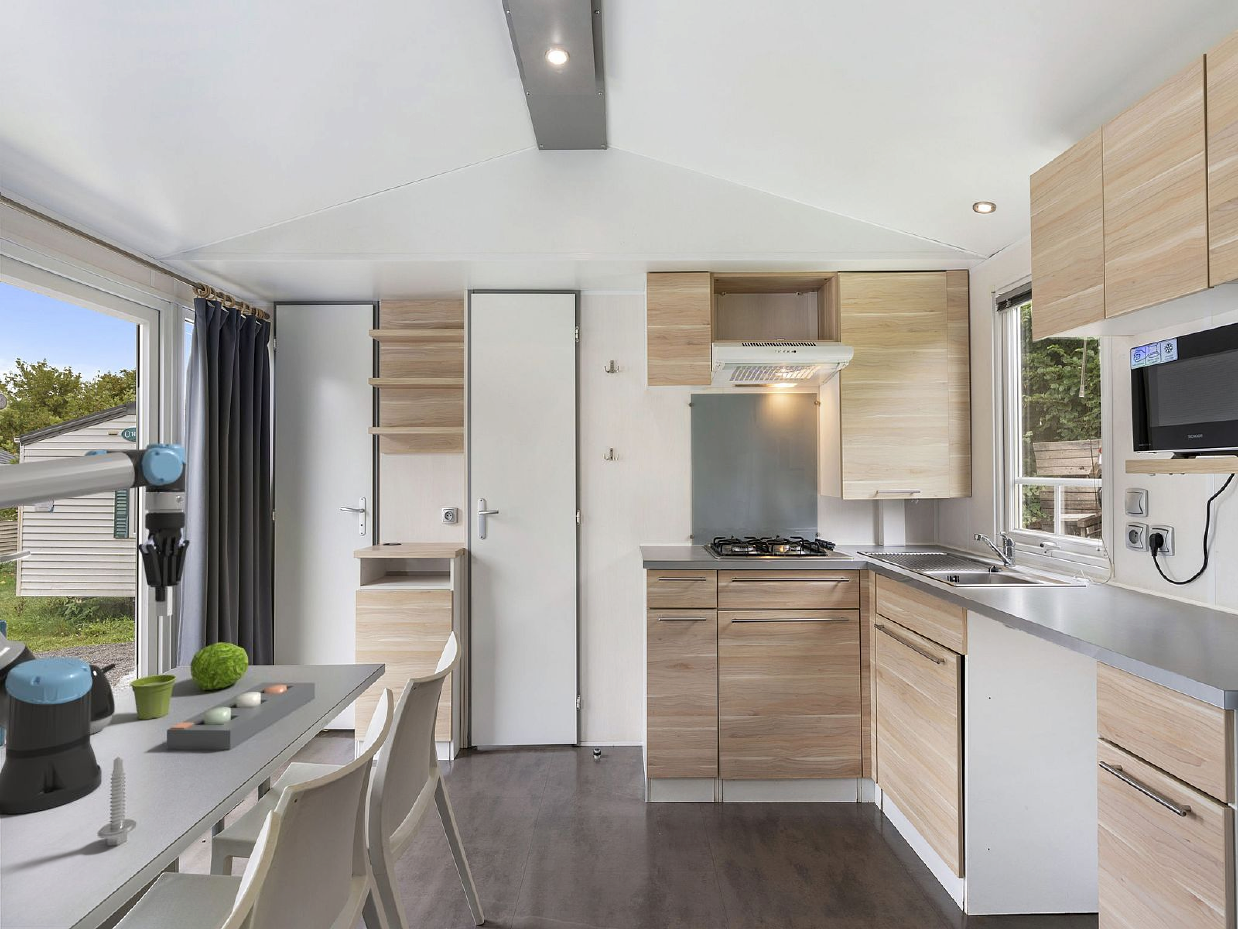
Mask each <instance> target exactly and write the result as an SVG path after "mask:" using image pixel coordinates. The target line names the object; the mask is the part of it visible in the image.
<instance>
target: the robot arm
mask: <svg viewBox="0 0 1238 929" xmlns="http://www.w3.org/2000/svg"><path fill="white" fill-rule="evenodd" d="M186 457H187V455H186V449H185V447H184V446H182V445H181V444H176V443H150V444H147V445H146V448H145V449H144V448H142V449H126V450H122V449H121V450H109V449H107V450H106V449H97V450H96V449H95V450H94V449H93V450H89V451H87V452H86V453H85V454H84V455H83V456H82V455H81V456H75V457H73V456H72V457H65V458H56V459H49V460H48V459H47V460H40V461H38V460H37V461H28V462H20V463H12V464H3V465H0V510H4V509H11V508H12V509H13V508H17V507H24V506H28V505H29V506H30V505H34V504H35V505H36V504H42V503H48V502H54V501H61V500H65V499H66V500H67V499H72V498H74V499H75V498H78V497H83V496H84V497H85V496H90V495H97V494H104V493H109V492H115V491H122V490H128V489H135V488H143V487H145V495H144V496H145V497H144V498H145V499H144V510H146V511H148V512H146V513H145V515H144V516H145V517H144V527H145V528H144V529H146V530H148V531H149V532H148V535H147V540H146V542H144V543H139V544H138V548H137V549H138V550H139V552H140V554H141V557H142V563H143V570H144V573H145V579H146V585H147V586H150V587H151V588H154V594H155V595H154V602H156V603H155V616H156V617H168V616H172V615H173V599H174V587H175V586H177V587H178V586H179V582H181V581H182V577H183V573H184V565H185V561H186V554H187V550H188V548H189V546H190V540H189V539H184V538H183V537H182V536H183V534H182V532H181V529H183V528H185V527H186V513H185V512H184V511H183V510H185V509H186V500H185V499H186V466H187V459H186ZM89 665H90V664H89V663H88V662H86V661H84V660H83V659H80V658H76V657H69V656H68V657H62V656H61V657H60V656H54V657H44V658H37V657H36V656H35V655H34V654H33V652H32V651H31V650H30V649H29V647H28V646H27V645H26V644H25V643H24V642H23V641H19V640H18V641H17V640H16V641H15V640H8V639H7V637H6V636H5V635H4V633H2V631H1V630H0V728H2V729H5V759H4V762H3V765H2V768H1V771H0V814H3V815H14V814H27V813H32V812H38V811H41V810H42V811H43V810H47V809H52V808H55V807H59V806H61V805H62V806H63V805H65V804H67V803H71V802H73V801H76V800H78V799H81V798H83V797H85V796H88V794H91V793H93V791H95V790H97V789H98V788H99V787H100V785H101V784H102V781H103V780H102V777H103V776H102V773H103V772H102V768H101V766H100V765H99V764H98V763H97V759H96V758H97V757H96V754H95V751H94V749H93V747H92V744H91V734H90V722H91V687H92V677H91V670H90V666H89Z"/></svg>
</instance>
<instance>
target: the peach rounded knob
mask: <svg viewBox="0 0 1238 929" xmlns="http://www.w3.org/2000/svg"><path fill="white" fill-rule="evenodd" d="M286 690H287V686H286V685H274V686H269V687H266V688H265V689H264V693H282V692H284V691H286Z"/></svg>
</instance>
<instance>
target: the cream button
mask: <svg viewBox="0 0 1238 929" xmlns="http://www.w3.org/2000/svg"><path fill="white" fill-rule="evenodd" d="M239 694H240V695H239ZM239 694H237V695H238V696H237V695H236V696H237V697H236V708H254V707H256V706H258V705H260V704H261V693H259V692H249V693H244V694H241V693H239Z"/></svg>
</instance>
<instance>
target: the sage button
mask: <svg viewBox="0 0 1238 929" xmlns="http://www.w3.org/2000/svg"><path fill="white" fill-rule="evenodd" d="M209 709H210V708H209ZM207 710H208V709H207ZM205 711H206V710H205ZM230 720H231V708H229V707H220V708H214V709H210V710H208V711H206V712H205V713H204V725H223V724H225V723H227V722H228V721H230Z"/></svg>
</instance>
